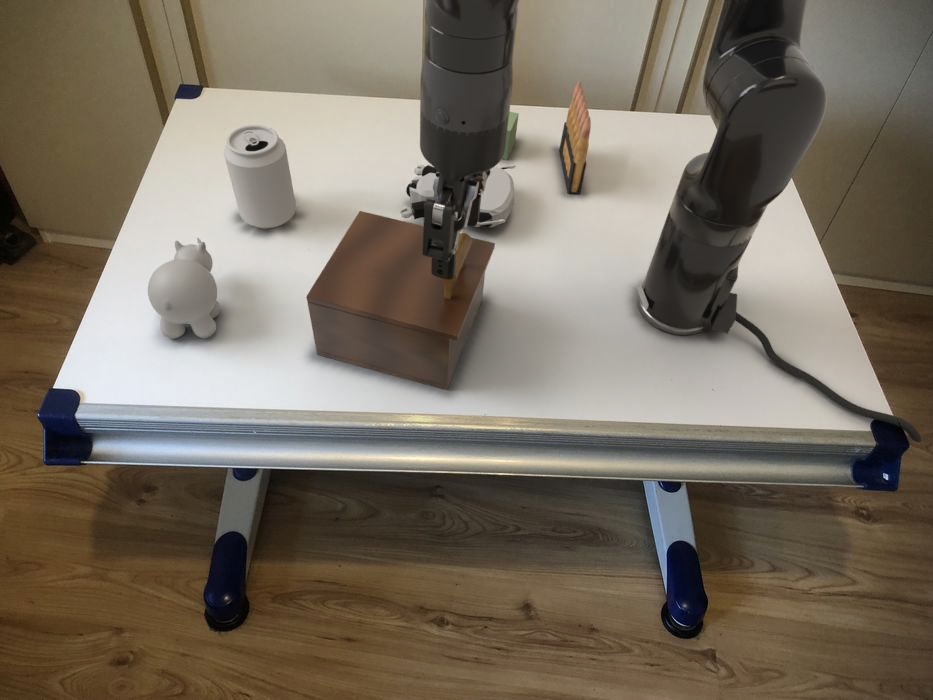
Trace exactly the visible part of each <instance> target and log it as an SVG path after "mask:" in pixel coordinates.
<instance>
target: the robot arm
mask: <svg viewBox="0 0 933 700" xmlns="http://www.w3.org/2000/svg"><path fill="white" fill-rule="evenodd" d="M519 1H520V0H424V12H423V13H424V17H423V19H424V21H423V23H424V26H423V57H422V63H421V70H420V81H419V82H420V83H419V84H420V85H419V86H420V87H419V88H420V89H419V90H420V95H419V97H420V99H419V149H420V152H421V154H422V156H423V158H424V159H425V160H426V162H428V163H429V165H430V166H432V167H434V168H435V169H436V170H437V171H438V172H436V175H435V178H434V183H433V190H434V196H433V200H432V199H427V200H426V202H425V204H424V217H423V226H424V228H423V248H422V251H423V256H427V257H431V258H432V266H431V273H432V274H433V275H434V276H436V277H440V278H444V279H447V280H451V279H452V278H453V276H454V274H455V264H456V251H457V249H458V246H457V245H458V240H459V236H460V233H461V231H463V230H466V228H467V227H468V225H472V226H471V227H473V226H475V225H477V223H478V221H479V214H480V203H481V194H482V193H483V191H484V190H485V184H486V180H487V179H488V176H490V172H491V171H490V169H491V168H495V167H496V166H497V165H498V164H500V162H501V161H502V160H503V159H502V157H503V155H504V152H505V144H506V136H507V127H508V119H509V111H510V112H511V102H512V93H513V85H514V84H513V83H514V73H513V72H514V71H513V62H514V61H513V59H514V49H515V42H516V32H517V24H518V12H519ZM808 1H809V0H723V1H722V5H721V9H720V12H719V17H718V20H717V24H716V27H715V31H714V34H713V38H712V42H711V45H710V49H709V53H708V57H707V61H706V64H705V69H704V74H703V78H702V80H703V81H702V94H703V101H704V105H705V108H706V110H707V112H708V114H709V116H710V118H711V120H712V122H713V124H714V127H715V129H716V133H715V136H714V139H713V141H712V144H711V147H710V148H709V151H708V152H704V153H700V154H698V155H696V156H694V157H693V158H691V159H690V160H689V162H687V164H686V165H685V167H684V169H683V171H682V174H681V177H680V179H679V182H678V185H677V188H676V191H675V193H674V196H673V198H672V202H671V204H670V207H669V210H668V212H667V216H666V217H665V221H664V223H663V227H662V229H661V232H660V235H659V238H658V241H657V244H656V246H655V249H654V251H653V255H652V257H651V260H650V263H649V266H648V269H647V271H646V275H645V277H644V279H643V282H642V283H641V282H640V281H639V283H638V285H637V288H636V290H637V307H638V310H639V312H640V313H641V315H642V316H643V318H644V319H645V320H646V321H647V322H648V323H649V324H651V325H652V326H653V327H655V328H656V329H658V330H661V331H663V332H666V333H669V334H673V335H678V336H690V335H695V334H698V333H701V332H702V333H707V334H710V333H711V332H712V331H714V332H719V333H724V334H727V335H728V334H729V333H730V331H731V328H732V327H733V325H734V323H735V322H736V323H737V324H740V325H741V326H742V327H743V328H745V329H747V330H748V331H749V332H750V333H751V334H753V335H754V336H755V337H756V338H757V339H758V341H759V342H760V344H761V346H762V348H763V350H764V352H765V354H766V356H767V358H769V359H770V360H771V361H772V362H773V363H774V364H775V365H776V366H778V367H779V368H781V369H782V370H784V371H786V372H787V373H790V374H791V375H792V376H794V377H795V376H796V377H797V378H798V379H801V380H803V381H804V382H806V383H807V384H809V385H810V386H812V387H814V388H815V389H816V390H818V392H821V393H822V394H823V395H825V396H826V397H827V398H829V399H830V400H831V401H832V402H834V403H836V404H837V405H839V406H841V407H842V408H844V409H845V410H847V411H849V412H852V413H853V414H856V415H858V416H861V417H865V418H868V419H872V420H876V421H879V422H885V423H888V424H891V425H895V426H896V427H899V428H900V429H902V430H904V431H905V432H906V433H907V434H908V436H909V437H910V439H911V440H912V441H914V442H915V443H921V442H922V437H921V434H920V433H919V431H918V430H917V429H916V426H914V424H912V423H910V422H909V421H907V420H905V419H903V418H901V417H898V416H895V415H892V414H888V413H885V412H880V411H876V410H873V409H868V408H865V407H862V406H860V405H858V404H855V403H853V402H851V401H850V400H848V399H846V398H844V397H843V396H841V395H840V394H838V393H837V392H836V391H834V390H833V389H832V388H830V387H829V386H827V385H826V384H825V383H823V382H822V381H820V380H819V379H818V378H816V377H815V376H813V375H812V374H810V373H808V372H806V371H804V370H802V369H801V368H798V367H796V366H794V365H793V364H790V363H789V362H787V361H786V360H784V359H782V358H781V357H780V356H779V355H778V354H777V353H776V351H774V348H773V346H772V344H771V342H770V340H769V338H768V337H767V335H766V334H765V333H764V332H763V330H761V329H760V328H759V327H758V326H756V325H755V324H754V323H753V322H751V321H750V320H749V319H747V318H746V317H744V316H743V315H741V314H740V313H738V311H737V304H738V293H734V292H732V290H733V288H734V286H735V284H736V282H737V280H738V276H739V264H740V262H741V260H742V258H743V256H744V254H745V252H746V249H748V246H749V243H750V242H751V240H752V237H753V235H754V234H755V231H756V229H757V227H758V225H759V223H760V222H761V220H762V218H763V215H764V213H765V212H766V209H767V207H768V206H769V205H770V204H771V203H772V202H773V201H775V199H777V198H778V197H779V196H780V195H781V194H782V193H783V192H784V190H785V189H786V188H787V186H788V185H789V184H790V181H791V179H792V178H793V176H794V174H795V173H796V171H797V169H798V167H799V166H800V164H801V162H802V160H803V158H804V157H805V155H806V153H807V152H808V150H809V148H810V147H811V145H812V143H813V141H814V139H815V138H816V135H818V131H819V130H820V127H821V125H822V123H823V120H824V117H825V114H826V111H827V105H828V93H827V89H826V86H825V84H824V82H823V81H822V79H821V78H820V76H819V74H818V73H817V72H816V70H815V69H814V67H813V66H812V65H811V63H810V61H809V60H808V59H807V58H806V55H805V54H804V53H803V52H802V51H803V50H802V43H801V42H802V41H801V40H802V32H803V26H804V20H805V14H806V10H807V6H808ZM456 212H458V213H457V218H456V214H455V213H456ZM894 418H895V419H894ZM897 420H898V421H897ZM898 422H899V423H900V425H901V427H900V425H899V423H898Z"/></svg>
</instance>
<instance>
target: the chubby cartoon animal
mask: <svg viewBox="0 0 933 700" xmlns="http://www.w3.org/2000/svg"><path fill="white" fill-rule="evenodd" d="M174 248H175V251H176V253H175V254H174V257H173V259H172V260H169V261H166V262H164V263H162V264H161V265H160V266H158V267H156V269H155V270H154V271H153V273H152V274H151V276H150V278H149V281H148V284H147V297H148V300H149V303H150V305H151V307H152V308H153V310H154V311H155V312H156V313H157V314H158V315H159V316H160V321H159V328H160V332H161V334H162V336H164V337H165V338H167V339H170V340H171V339H178V338H180V337H182V336H183V335H184V334H185V332H186V325H187V324H188V325H190V327H191V330H192V332H193V333H194V335H195V336H197V337H198V338H202V339H205V338H209V337H211V336H213V334H214V333H215V332H216V330H217V323H216V321H215V320H214V319H215V318H217V317H218V316H219V314H220V313H221V307H220V304H219V301H218V286H217V285H218V284H217V282H216V280H215V278H214V276H213V274H212V273H211V271H212V269H213V264H214V263H213V258H212V255H211V254H210V253H209V252H208V250H207V245H206V243H205V241H202V240H201V239H200V238H199V237H196V244H191V243H190V244H189V243H188V244H182V243H181V242H180V241H179V240H175V241H174ZM185 324H186V325H185Z"/></svg>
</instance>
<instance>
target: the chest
mask: <svg viewBox="0 0 933 700" xmlns="http://www.w3.org/2000/svg"><path fill="white" fill-rule="evenodd" d="M485 276H486V272H485V273H484V275H483V278H482V280H481V283H480V285H479V288H478V290H477V293H476V295H475V298H474V300H473V303H472V305H471V307H470V310H469V312H468V315H467V317H466V320H465V322H464V325H463V327H462V330H461V332H460V335H459V337H458V340H457V341H456V340H452V339H449V338H445V337H441V336H437V335H433V334H430V333H426V332H422V331H418V330H414V329H410V328H407V327H403V326H399V325H395V324H391V323H388V322H384V321H380V320H376V319H372V318H368V317H365V316H361V315H357V314H353V313H349V312H346V311H342V310H338V309H334V308H330V307H326V306H323V305H319V304H315V303H311V302H308V301H306V302H307V308H308V315H309V318H310V324H311V328H312V334H313V341H314V347H315V351H316V355H318V356H321V357H325V358H329V359H333V360H337V361H339V362H343V363H347V364H351V365H354V366H358V367H362V368H365V369H369V370H373V371H377V372H380V373H384V374H387V375H391V376H394V377H399V378H402V379H405V380H409V381H412V382H417V383H421V384H423V385H428V386H431V387H435V388H438V389H442V390H448V389H449V386H450V384H451V380H452V378H453V376H454V373H455V371H456V368H457V365H458V363H459V360H460V359H461V355H462V353H463V350H464V348H465V346H466V342H467V340H468V338H469V334H470V332H471V330H472V327H473V324H474V322H475V319H476V317H477V314H478V312H479V309H480V307H481V304H482V302H483V297H484V286H485Z"/></svg>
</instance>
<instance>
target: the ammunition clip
mask: <svg viewBox="0 0 933 700" xmlns="http://www.w3.org/2000/svg"><path fill="white" fill-rule="evenodd" d="M568 107H569V108H568V109H567V116H566V121H565V122H564V124H563V129H562V132H561V133H562V134H561V138H560V145H559V149H558V152H559V157H560V162H561V169H562V172H563V173H562V174H563V178H564V183H565V187H566V192H567V194H581V190H582V187H583V182H584V179H585V178H584V177H585V173H586V168H587V160H586V159H587V155H588V151H589V145H590V142H589V141H590V134H591V129H592V128H591V127H592V123H591V117H590V114H589V109H588V105H587V101H586V97H585V95H584V90H583V86H582V82H581V81H580V80H579V81H578V82H577V84H576V85H575V87H574V90H573V93H572V97H571V101H570V105H569V106H568Z"/></svg>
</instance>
